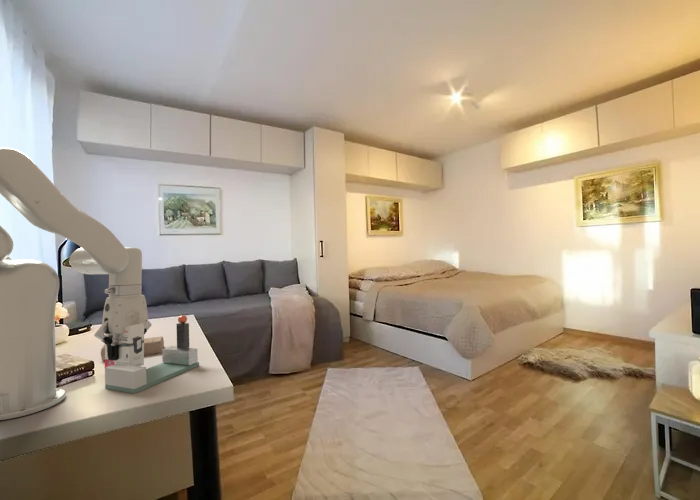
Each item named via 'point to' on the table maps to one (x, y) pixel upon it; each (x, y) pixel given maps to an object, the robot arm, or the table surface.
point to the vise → (141, 375)
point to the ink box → (129, 347)
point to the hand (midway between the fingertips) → (124, 355)
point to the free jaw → (181, 346)
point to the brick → (146, 346)
